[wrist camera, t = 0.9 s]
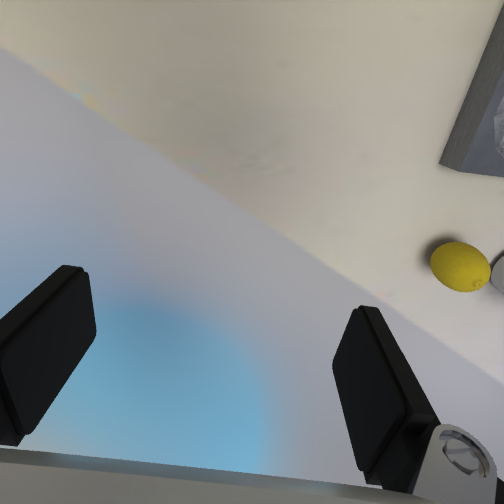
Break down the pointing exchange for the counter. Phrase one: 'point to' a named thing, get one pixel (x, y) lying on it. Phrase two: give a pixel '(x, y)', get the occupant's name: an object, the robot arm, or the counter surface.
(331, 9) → the counter surface
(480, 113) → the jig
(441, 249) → the lemon
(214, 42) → the counter surface
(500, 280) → the can
